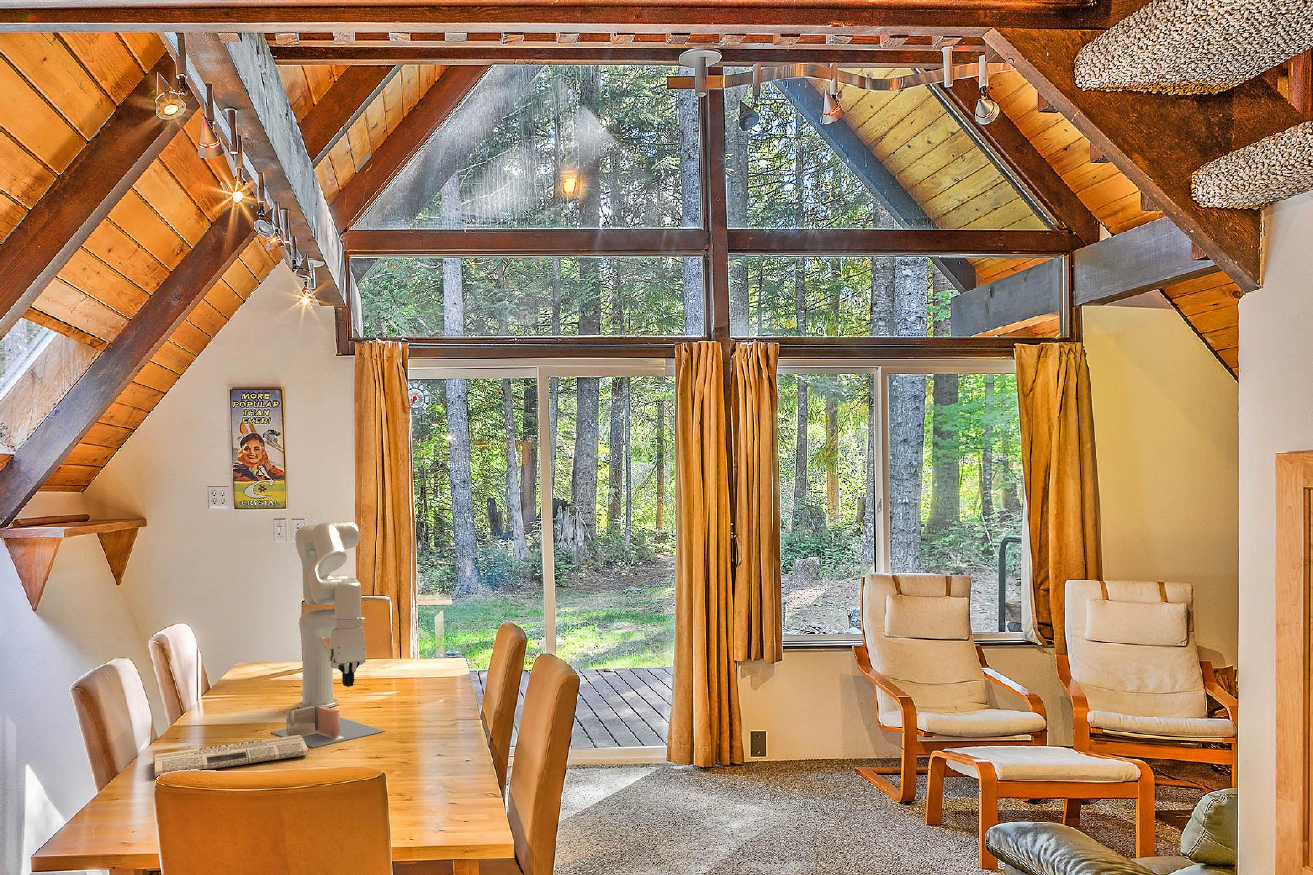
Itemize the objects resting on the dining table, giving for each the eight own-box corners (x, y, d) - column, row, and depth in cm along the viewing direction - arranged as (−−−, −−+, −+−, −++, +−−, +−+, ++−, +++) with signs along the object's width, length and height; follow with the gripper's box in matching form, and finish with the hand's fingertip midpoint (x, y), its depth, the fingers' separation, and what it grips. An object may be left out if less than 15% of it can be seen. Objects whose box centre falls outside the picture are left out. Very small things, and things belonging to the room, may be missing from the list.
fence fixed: (286, 737, 290) (285, 711, 290) (312, 732, 296) (311, 706, 296) (289, 738, 289) (289, 712, 289) (315, 733, 294) (315, 707, 295)
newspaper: (154, 779, 253) (154, 768, 253) (154, 760, 270) (154, 750, 270) (307, 757, 269) (307, 746, 269) (298, 740, 286) (298, 730, 287)
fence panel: (313, 730, 296) (313, 706, 297) (320, 728, 298) (319, 704, 298) (334, 737, 287) (334, 713, 287) (340, 736, 288) (340, 711, 289)
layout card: (267, 733, 296) (267, 732, 296) (340, 718, 313) (340, 717, 313) (309, 749, 278) (309, 747, 278) (384, 732, 295) (384, 730, 295)
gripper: (364, 618, 304) (364, 679, 304) (318, 625, 293) (318, 688, 293) (377, 621, 299) (377, 683, 299) (331, 628, 288) (331, 692, 288)
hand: (348, 685), depth 296 cm, fingers closed
